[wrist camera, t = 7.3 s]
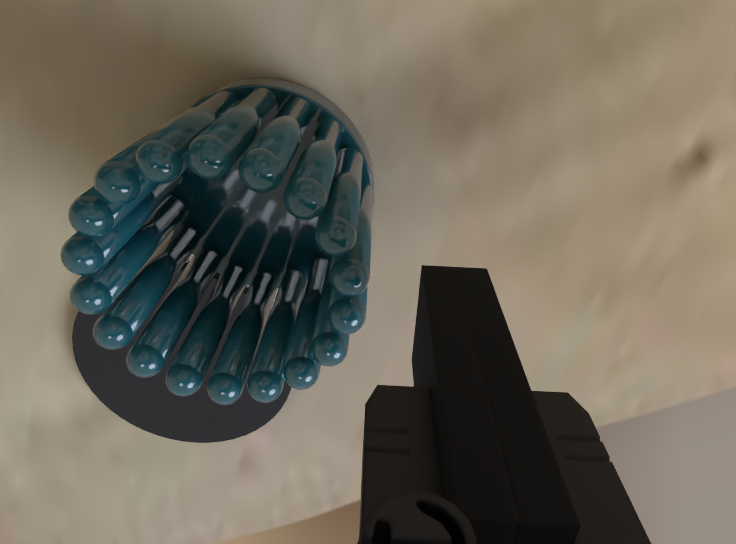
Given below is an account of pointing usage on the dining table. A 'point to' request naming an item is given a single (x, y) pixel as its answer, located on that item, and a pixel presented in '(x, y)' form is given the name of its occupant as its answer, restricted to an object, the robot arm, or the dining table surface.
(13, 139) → the dining table surface
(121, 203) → the teal ridged cylinder
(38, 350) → the dining table surface
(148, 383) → the coaster
